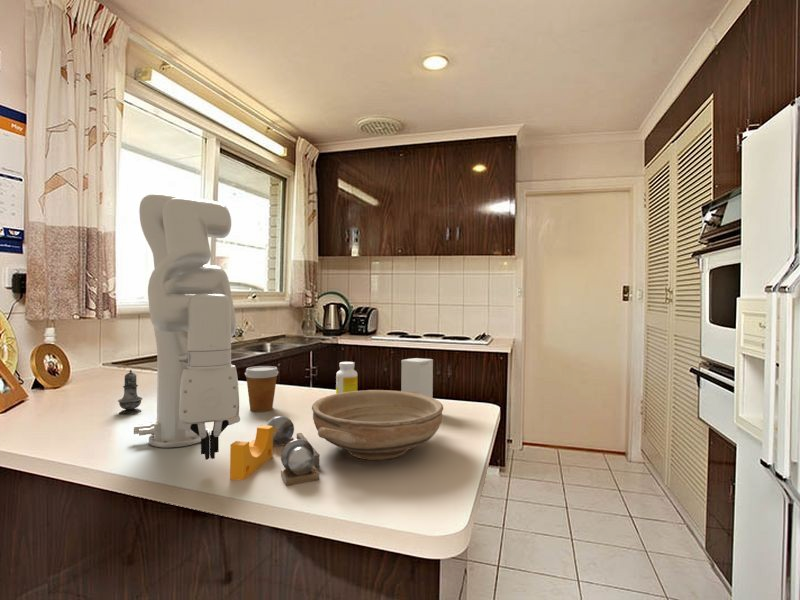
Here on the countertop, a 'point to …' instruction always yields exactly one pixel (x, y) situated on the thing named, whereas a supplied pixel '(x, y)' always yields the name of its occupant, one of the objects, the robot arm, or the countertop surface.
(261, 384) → the disposable coffee cup
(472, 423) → the countertop surface
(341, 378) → the supplement bottle
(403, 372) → the skincare box
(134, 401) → the salt shaker
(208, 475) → the countertop surface
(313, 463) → the pipe run
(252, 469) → the pipe clamp
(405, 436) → the ceramic bowl
